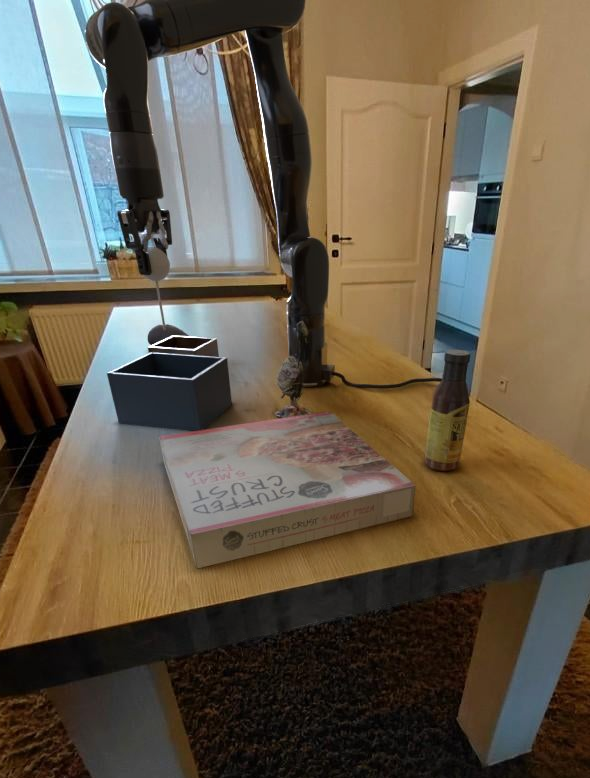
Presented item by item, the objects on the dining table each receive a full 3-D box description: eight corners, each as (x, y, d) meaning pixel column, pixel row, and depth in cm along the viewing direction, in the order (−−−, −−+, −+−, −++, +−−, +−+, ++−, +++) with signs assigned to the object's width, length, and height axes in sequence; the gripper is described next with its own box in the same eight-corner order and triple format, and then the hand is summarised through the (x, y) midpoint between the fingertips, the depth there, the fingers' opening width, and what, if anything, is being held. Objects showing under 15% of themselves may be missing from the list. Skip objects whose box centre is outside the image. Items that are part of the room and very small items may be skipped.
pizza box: (329, 411, 96) (415, 485, 71) (329, 436, 99) (412, 516, 74) (158, 436, 85) (190, 534, 60) (164, 464, 88) (196, 568, 63)
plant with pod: (305, 404, 114) (303, 313, 103) (316, 422, 105) (315, 324, 94) (270, 407, 112) (264, 314, 102) (278, 426, 103) (273, 326, 92)
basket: (219, 363, 142) (216, 338, 138) (198, 377, 131) (195, 350, 127) (176, 360, 145) (172, 335, 141) (152, 373, 133) (147, 347, 130)
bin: (232, 403, 114) (227, 357, 108) (200, 431, 100) (192, 380, 95) (159, 397, 117) (150, 352, 112) (118, 423, 104) (106, 373, 98)
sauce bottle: (451, 476, 85) (469, 360, 74) (418, 467, 88) (430, 353, 77) (464, 462, 90) (483, 350, 79) (432, 453, 92) (446, 345, 82)
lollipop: (186, 329, 101) (174, 246, 93) (163, 334, 97) (149, 248, 89) (165, 325, 104) (152, 244, 96) (142, 330, 100) (126, 246, 92)
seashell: (148, 362, 151) (142, 336, 146) (153, 340, 166) (148, 315, 161) (196, 358, 154) (191, 333, 149) (196, 337, 168) (192, 313, 163)
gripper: (133, 164, 79) (153, 278, 88) (176, 168, 91) (190, 269, 100) (92, 164, 81) (115, 276, 90) (140, 169, 93) (156, 268, 102)
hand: (155, 272), depth 95 cm, fingers closed on lollipop, 6 cm apart
